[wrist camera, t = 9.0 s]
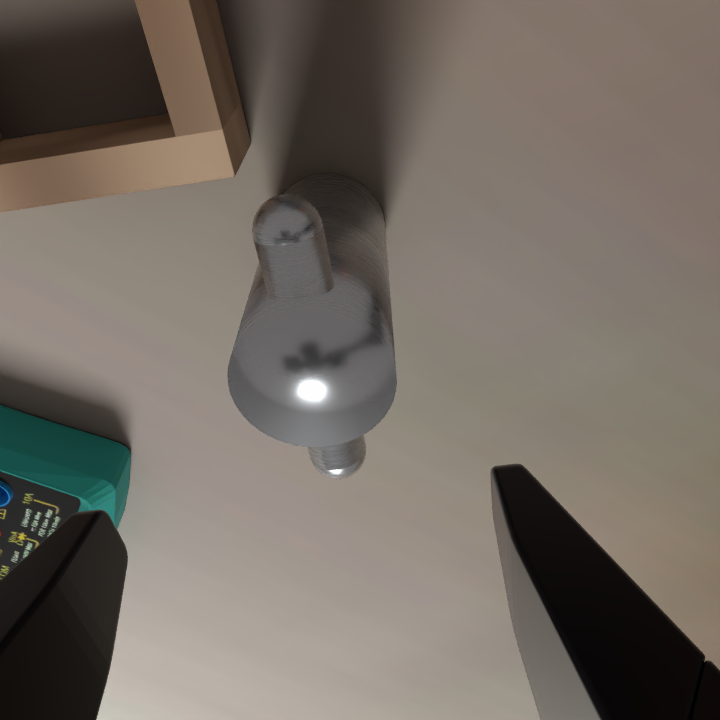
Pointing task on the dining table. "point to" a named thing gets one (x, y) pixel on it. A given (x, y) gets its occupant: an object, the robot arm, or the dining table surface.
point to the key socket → (144, 123)
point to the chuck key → (318, 323)
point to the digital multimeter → (53, 480)
